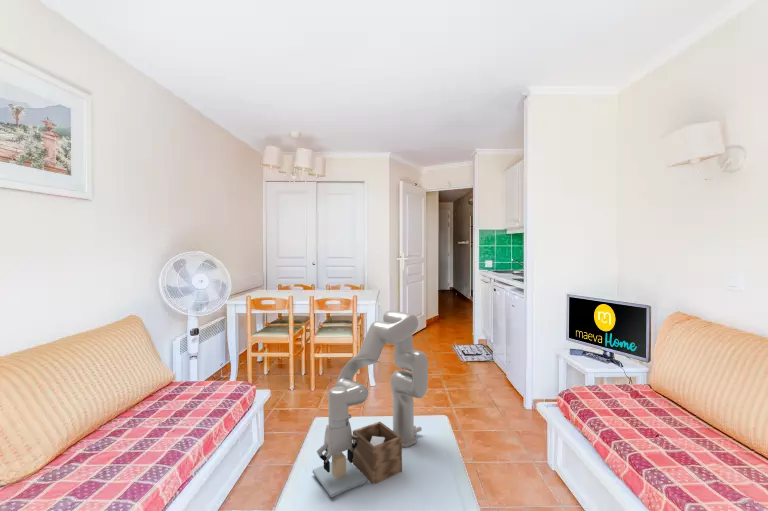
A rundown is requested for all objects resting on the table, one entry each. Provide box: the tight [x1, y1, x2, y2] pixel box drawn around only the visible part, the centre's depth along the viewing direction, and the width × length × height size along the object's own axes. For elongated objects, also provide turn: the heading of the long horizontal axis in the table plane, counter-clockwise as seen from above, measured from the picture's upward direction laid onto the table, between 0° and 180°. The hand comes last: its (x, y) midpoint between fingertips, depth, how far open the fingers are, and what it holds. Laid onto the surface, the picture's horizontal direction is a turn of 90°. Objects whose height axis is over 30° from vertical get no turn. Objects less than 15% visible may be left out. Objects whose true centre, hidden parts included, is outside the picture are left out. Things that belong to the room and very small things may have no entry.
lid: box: [311, 452, 367, 498], centre depth 130 cm, size 14×16×9 cm
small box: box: [370, 436, 385, 446], centre depth 138 cm, size 8×6×10 cm
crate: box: [352, 421, 403, 486], centre depth 138 cm, size 13×15×14 cm
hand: (338, 465), depth 130 cm, fingers open, 9 cm apart
